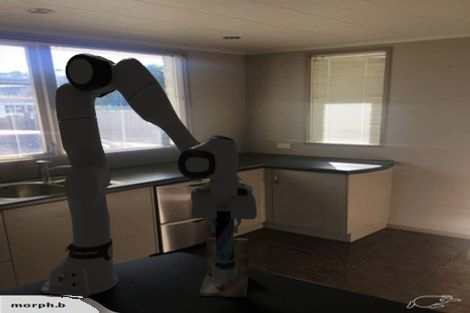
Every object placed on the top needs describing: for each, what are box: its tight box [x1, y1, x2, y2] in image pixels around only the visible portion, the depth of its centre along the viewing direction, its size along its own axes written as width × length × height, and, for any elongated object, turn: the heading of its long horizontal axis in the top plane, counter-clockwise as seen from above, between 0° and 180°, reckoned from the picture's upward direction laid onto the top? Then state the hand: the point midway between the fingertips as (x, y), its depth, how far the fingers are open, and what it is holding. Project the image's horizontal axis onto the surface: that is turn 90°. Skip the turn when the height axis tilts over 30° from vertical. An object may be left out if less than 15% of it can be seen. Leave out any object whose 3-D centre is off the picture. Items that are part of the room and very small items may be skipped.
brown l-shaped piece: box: [198, 237, 250, 298], centre depth 111 cm, size 14×14×13 cm
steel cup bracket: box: [212, 260, 238, 289], centre depth 112 cm, size 8×10×6 cm
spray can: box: [215, 204, 234, 264], centre depth 110 cm, size 6×6×20 cm
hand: (224, 232), depth 110 cm, fingers closed on spray can, 5 cm apart
